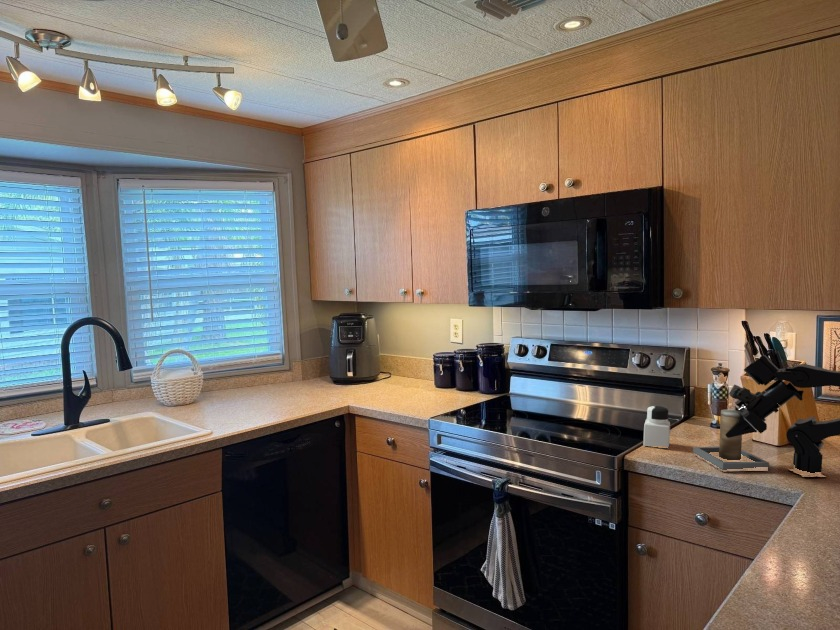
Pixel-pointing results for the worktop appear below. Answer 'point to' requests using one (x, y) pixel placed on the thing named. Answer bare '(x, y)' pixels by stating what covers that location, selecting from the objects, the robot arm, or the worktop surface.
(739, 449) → the translucent brown jar
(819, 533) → the worktop surface
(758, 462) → the tray
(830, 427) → the robot arm
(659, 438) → the medicine bottle
